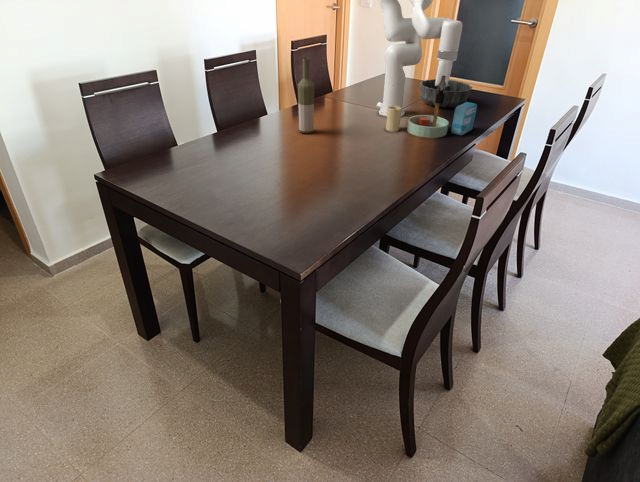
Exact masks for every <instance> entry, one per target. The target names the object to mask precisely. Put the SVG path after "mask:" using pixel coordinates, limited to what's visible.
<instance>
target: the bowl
mask: <svg viewBox="0 0 640 482" xmlns="http://www.w3.org/2000/svg"><path fill="white" fill-rule="evenodd" d="M433 116H434V115H429V114H421V115H419V114H418V115H413V116H410V117H408V120H407V126H406V131H407V133H409V134H410V135H413V136H416V137H420V138H429V139H435V138H443V137H445V136H447V134H448V130H449V120H447V119H445V118H444V117H441V116H437V122H436V127H432V123H433ZM419 117H428V118H429V119H430V125H429V127H425V126H420V125H418V124H419Z"/></svg>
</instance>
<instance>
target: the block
mask: <svg viewBox="0 0 640 482" xmlns="http://www.w3.org/2000/svg"><path fill="white" fill-rule="evenodd" d="M418 125H420V126H425V127H430V126H429V125H430V119H429V118H428V117H419V124H418Z"/></svg>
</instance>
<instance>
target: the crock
mask: <svg viewBox="0 0 640 482" xmlns="http://www.w3.org/2000/svg"><path fill="white" fill-rule="evenodd" d="M401 110H402V111H403V107H402V108H401V107H398V106H389V107H388V112H387V116H386V121H385V122H386V123H385V130H386V131H387V132H398V131H400V128H401V127H400V126H401V119H402V116H401Z"/></svg>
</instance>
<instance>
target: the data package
mask: <svg viewBox="0 0 640 482" xmlns="http://www.w3.org/2000/svg"><path fill="white" fill-rule="evenodd" d="M477 109H478V104H477V103H474V102H468V101H466V102H465V103H464V104H461V105H459V106H457V107H456V108H454V112H453V113H454V114H453V120H452V126H451V130H450V131H451V134H452V135H457V136H461V137H462V136H463V135H466V134H467V133H469V132H470V131H472V130H473V128H474V123H475V118H476V113H477Z"/></svg>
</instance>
